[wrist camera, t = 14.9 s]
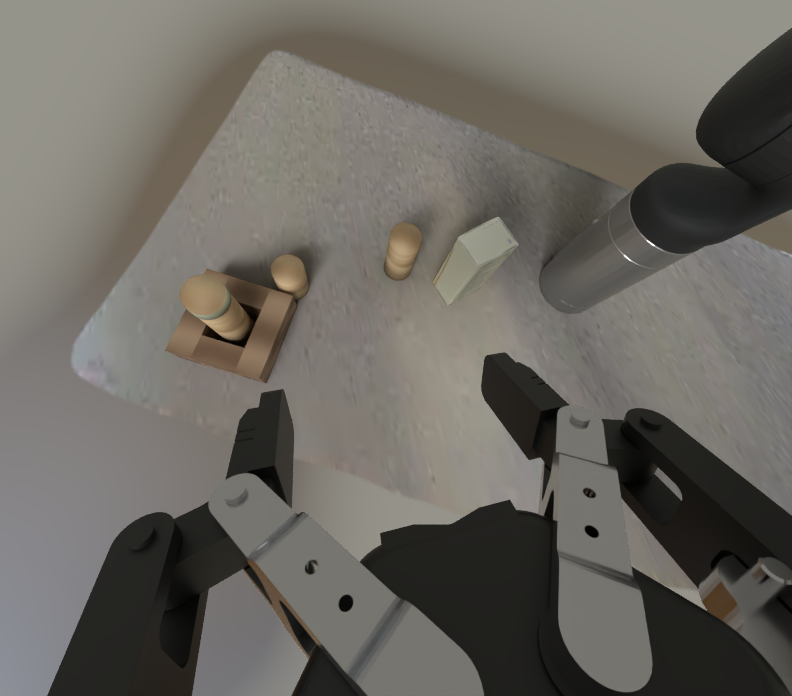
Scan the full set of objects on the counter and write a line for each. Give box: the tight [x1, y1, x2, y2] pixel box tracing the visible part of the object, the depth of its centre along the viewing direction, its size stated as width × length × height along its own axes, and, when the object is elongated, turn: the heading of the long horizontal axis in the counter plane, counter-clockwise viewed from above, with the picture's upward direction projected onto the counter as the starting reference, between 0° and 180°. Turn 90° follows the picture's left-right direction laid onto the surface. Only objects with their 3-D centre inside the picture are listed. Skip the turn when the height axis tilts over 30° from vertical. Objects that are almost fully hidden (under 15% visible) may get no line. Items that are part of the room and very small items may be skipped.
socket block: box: [165, 269, 297, 383], centre depth 42 cm, size 11×11×4 cm
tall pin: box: [180, 274, 255, 346], centre depth 38 cm, size 4×4×12 cm
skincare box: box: [433, 217, 519, 305], centre depth 44 cm, size 6×4×12 cm
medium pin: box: [384, 223, 422, 281], centre depth 45 cm, size 4×4×8 cm
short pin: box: [271, 255, 309, 300], centre depth 44 cm, size 4×4×5 cm
